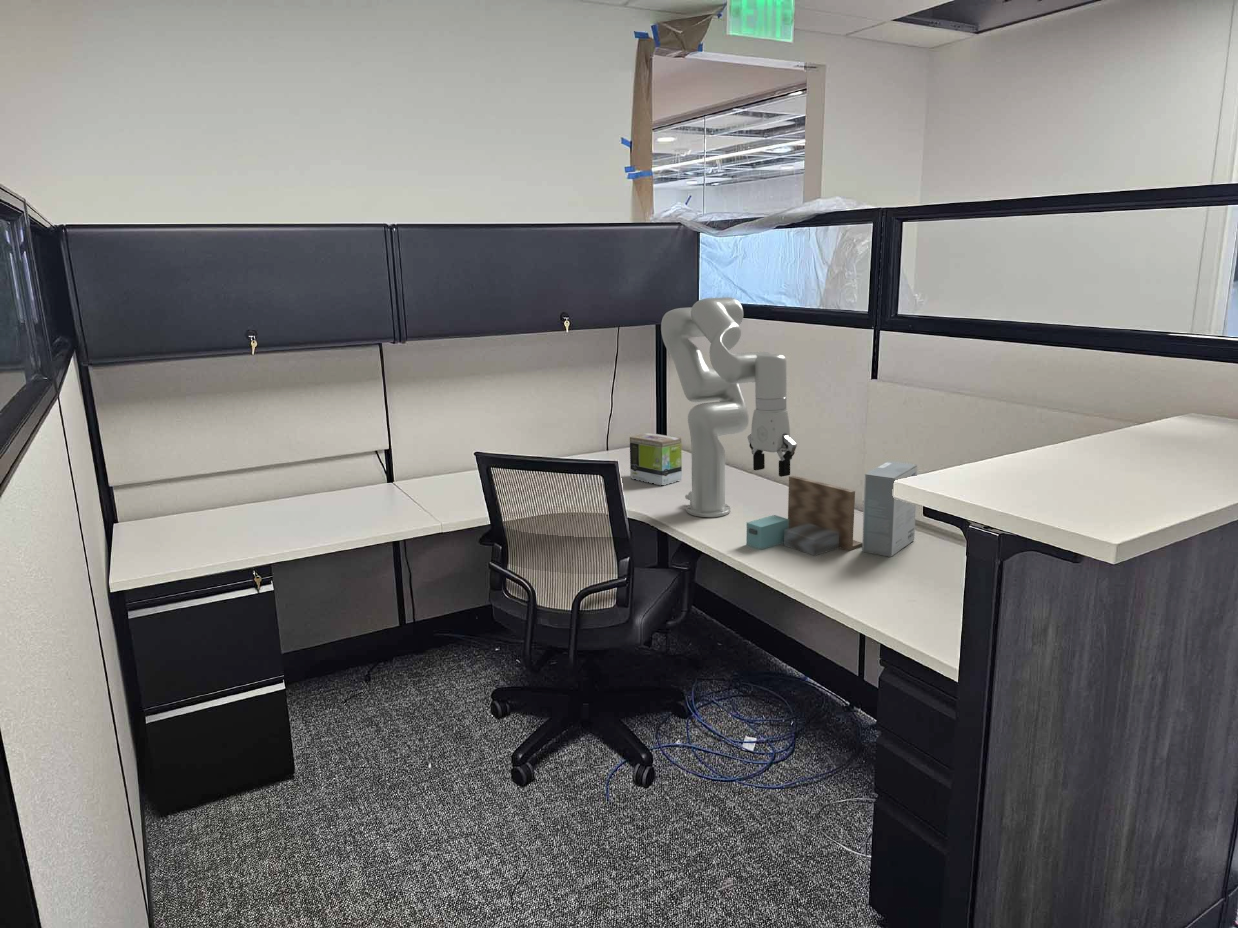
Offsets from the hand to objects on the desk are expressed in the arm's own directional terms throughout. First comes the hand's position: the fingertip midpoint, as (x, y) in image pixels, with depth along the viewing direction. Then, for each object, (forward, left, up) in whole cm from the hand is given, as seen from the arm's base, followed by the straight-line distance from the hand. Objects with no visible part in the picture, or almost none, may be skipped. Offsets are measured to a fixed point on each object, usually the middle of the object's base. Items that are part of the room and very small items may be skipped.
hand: (771, 472), depth 206 cm
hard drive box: (+21, +20, -19) cm, 34 cm away
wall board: (+7, +8, -18) cm, 21 cm away
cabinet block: (0, -1, -19) cm, 19 cm away
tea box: (-68, +17, -19) cm, 73 cm away
